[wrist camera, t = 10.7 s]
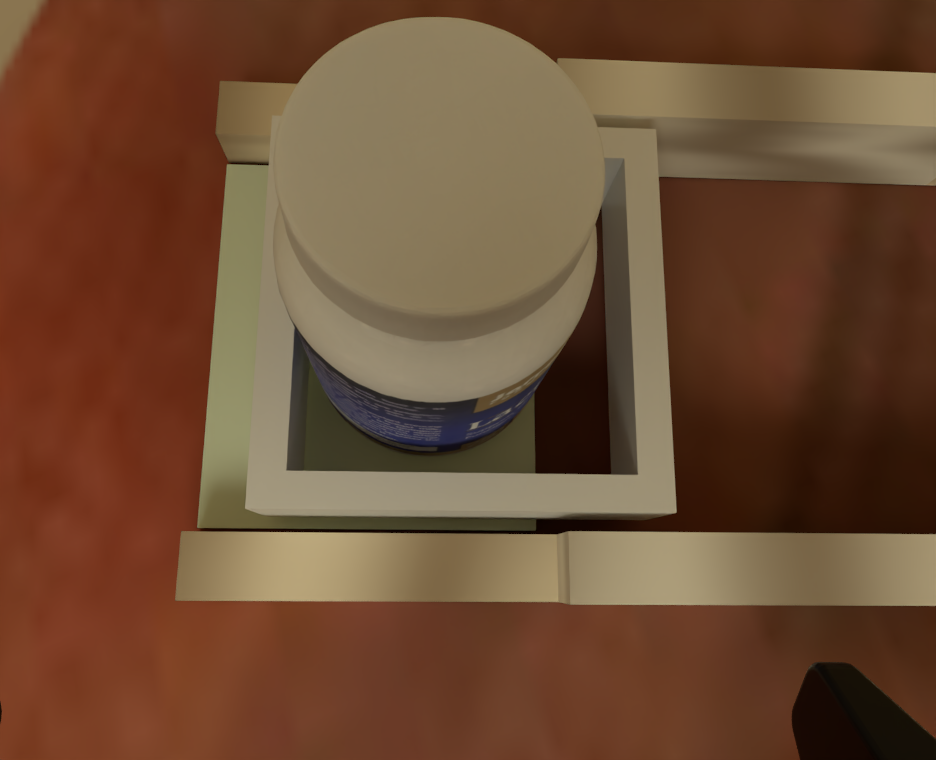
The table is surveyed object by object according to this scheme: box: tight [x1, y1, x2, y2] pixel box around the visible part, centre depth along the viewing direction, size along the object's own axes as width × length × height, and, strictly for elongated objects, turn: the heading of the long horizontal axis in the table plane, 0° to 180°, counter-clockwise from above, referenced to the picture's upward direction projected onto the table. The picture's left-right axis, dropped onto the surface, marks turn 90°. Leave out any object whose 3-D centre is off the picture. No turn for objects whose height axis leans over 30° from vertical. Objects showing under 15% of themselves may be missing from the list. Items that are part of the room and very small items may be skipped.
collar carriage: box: [245, 115, 677, 520], centre depth 19 cm, size 9×9×2 cm
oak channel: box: [175, 58, 936, 606], centre depth 20 cm, size 28×13×3 cm, turn 90°
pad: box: [197, 164, 536, 531], centre depth 21 cm, size 8×10×1 cm
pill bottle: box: [273, 17, 605, 457], centre depth 16 cm, size 6×6×10 cm
